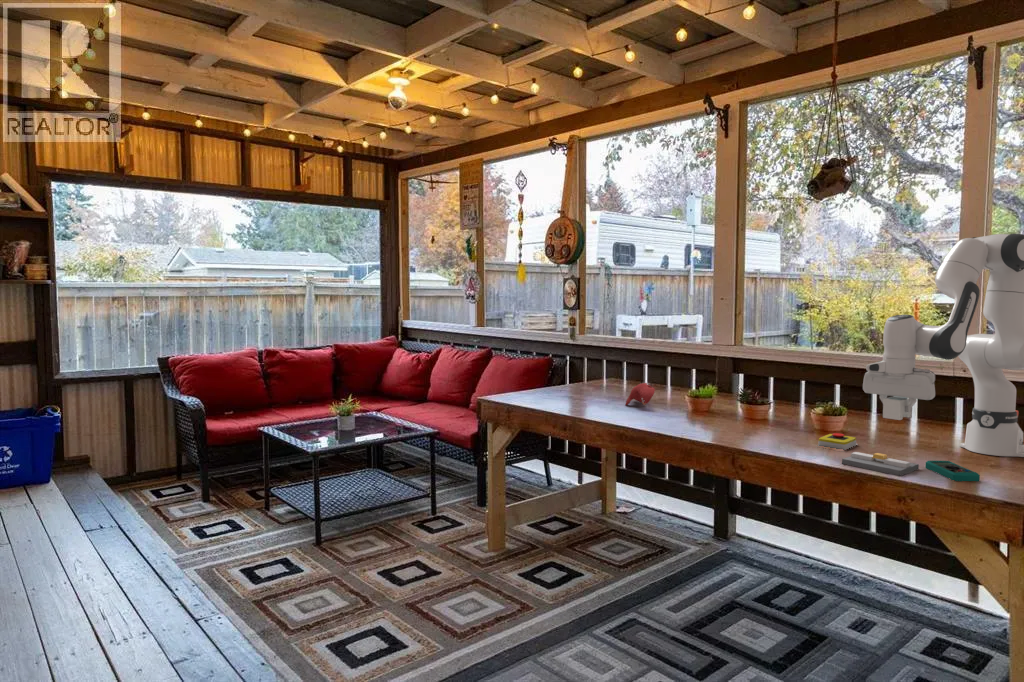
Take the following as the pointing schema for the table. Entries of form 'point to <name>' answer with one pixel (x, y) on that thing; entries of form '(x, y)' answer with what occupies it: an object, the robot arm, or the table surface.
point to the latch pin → (880, 456)
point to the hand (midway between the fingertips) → (897, 410)
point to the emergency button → (837, 441)
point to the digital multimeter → (952, 471)
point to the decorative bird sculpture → (641, 393)
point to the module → (895, 408)
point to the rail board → (880, 464)
